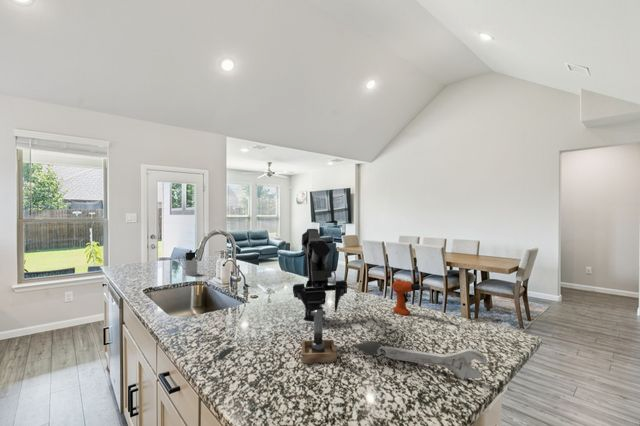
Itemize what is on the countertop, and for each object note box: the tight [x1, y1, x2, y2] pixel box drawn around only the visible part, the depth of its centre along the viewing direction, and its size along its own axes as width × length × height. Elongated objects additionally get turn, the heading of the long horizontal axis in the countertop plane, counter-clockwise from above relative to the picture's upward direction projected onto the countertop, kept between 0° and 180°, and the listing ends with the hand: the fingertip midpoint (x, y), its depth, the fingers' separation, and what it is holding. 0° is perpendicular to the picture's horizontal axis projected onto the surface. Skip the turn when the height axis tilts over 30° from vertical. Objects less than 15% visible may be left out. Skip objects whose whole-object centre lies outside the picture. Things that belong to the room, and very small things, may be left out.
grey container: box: [178, 251, 199, 277], centre depth 217 cm, size 9×14×15 cm, turn 80°
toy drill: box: [391, 279, 431, 317], centre depth 133 cm, size 5×19×15 cm, turn 42°
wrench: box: [376, 345, 488, 381], centre depth 87 cm, size 8×2×30 cm
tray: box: [301, 339, 338, 364], centre depth 95 cm, size 10×10×3 cm
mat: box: [353, 340, 385, 356], centre depth 100 cm, size 8×8×1 cm
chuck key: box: [311, 309, 326, 353], centre depth 95 cm, size 4×4×13 cm
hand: (322, 313), depth 103 cm, fingers open, 9 cm apart
